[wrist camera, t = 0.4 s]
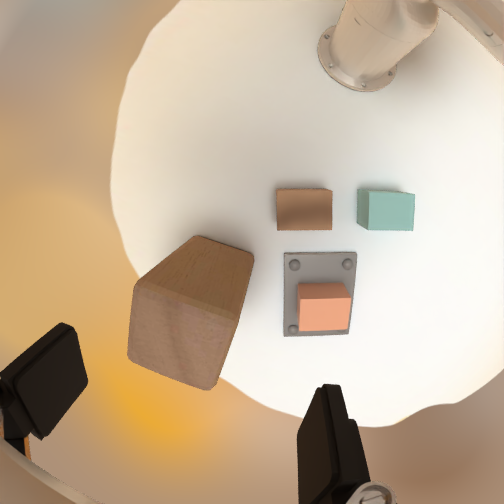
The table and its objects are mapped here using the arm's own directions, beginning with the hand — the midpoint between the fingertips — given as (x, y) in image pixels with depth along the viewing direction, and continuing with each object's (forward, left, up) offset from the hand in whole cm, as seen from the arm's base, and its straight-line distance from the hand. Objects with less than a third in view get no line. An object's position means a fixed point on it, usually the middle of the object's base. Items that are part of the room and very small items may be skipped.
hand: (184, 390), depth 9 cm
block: (+7, -6, -33) cm, 34 cm away
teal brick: (-3, +19, -33) cm, 38 cm away
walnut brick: (-3, +7, -33) cm, 34 cm away
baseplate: (+11, +10, -33) cm, 36 cm away
